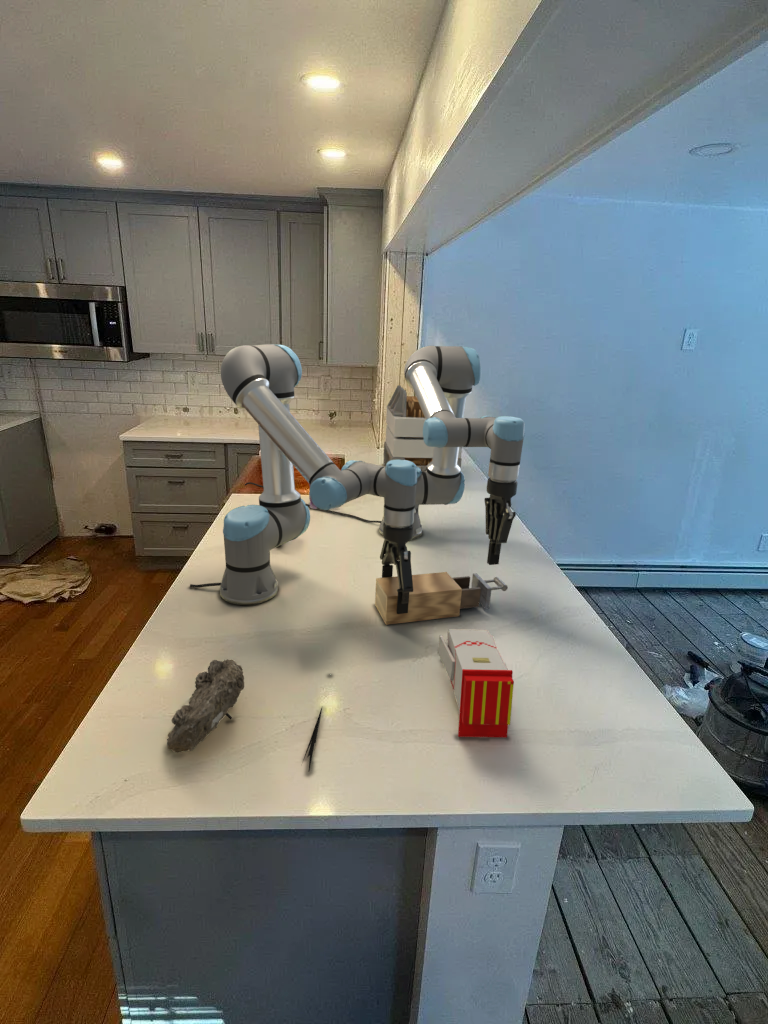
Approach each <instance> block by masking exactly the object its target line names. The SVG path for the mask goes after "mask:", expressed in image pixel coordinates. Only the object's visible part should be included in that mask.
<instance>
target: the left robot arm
mask: <svg viewBox="0 0 768 1024" xmlns="http://www.w3.org/2000/svg"><path fill="white" fill-rule="evenodd" d="M299 358H300V357H298V355H297V354H296V353H295V352H294V350H293V349H291V348H290V347H288V346H286V345H284V344H276V343H270V344H269V343H267V344H254V345H253V344H251V345H250V344H249V345H245V344H244V345H239V346H236V347H234V348H232V349H230V350H229V351H228V352H227V353H226V355H224V357H223V359H222V362H221V365H220V379H221V384H222V386H223V388H224V390H225V392H226V394H227V396H228V397H229V399H230V400H231V401H232V403H234V404H235V406H236V407H237V408H238V409H243V410H245V411H246V412H247V413H248V414H249V415H250V417H251V418H252V419H253V420H254V421H255V422H256V423H257V425H258V426H257V428H258V438H259V447H260V448H259V451H260V462H261V463H260V464H261V475H262V486H263V488H262V489H263V491H262V493H261V494H260V495H259V496H258V504H259V505H258V504H247V505H241V506H240V505H239V506H238V507H235V508H233V509H231V510H229V511H228V512H227V513H226V514H225V515H224V518H223V527H222V534H223V546H224V558H225V560H224V562H225V568H224V572H223V576H222V579H221V582H209V583H208V582H207V583H201V584H192V583H190V584H189V588H193V589H194V588H195V589H196V588H197V589H199V588H207V587H219V594H220V595H219V596H220V597H221V599H222V600H223V601H224V602H227V603H230V604H233V605H239V606H249V605H250V606H252V605H253V606H254V605H258V604H262V603H265V602H267V601H270V600H271V599H273V598H274V597H275V596H276V595H277V593H278V584H279V580H278V579H276V576H275V573H274V571H273V569H272V566H271V550H273V549H275V548H277V547H281V546H282V545H284V544H286V543H288V542H290V541H294V540H296V539H298V538H299V537H300V536H302V535H304V533H305V532H306V531H307V530H308V529H309V526H310V522H311V511H310V507H309V506H306V505H305V504H307V503H306V501H305V500H304V499H303V498H302V494H301V493H300V492H299V491H298V490H296V485H295V472H294V471H295V470H294V468H295V469H296V470H297V472H298V473H299V474H300V475H301V476H302V477H303V478H304V480H305V481H306V482H307V483H308V485H309V484H310V485H311V486H309V490H308V491H309V492H308V495H309V494H310V496H311V499H312V502H313V504H314V505H315V506H316V507H318V508H319V509H322V510H321V511H323V510H332V509H333V510H334V509H337V508H340V507H342V506H344V505H346V504H347V503H350V502H351V501H354V500H356V499H359V498H361V497H364V496H366V495H371V496H375V497H379V498H383V512H382V513H383V515H382V519H383V521H384V522H385V523H384V524H383V535H382V537H383V542H382V547H381V550H380V554H379V559H380V560H381V564H382V567H381V578H386V577H393V572H394V565H395V568H396V574H397V576H398V582H399V588H400V589H397V592H398V597H397V614H404V613H408V604H409V592H413V581H412V575H413V572H412V571H413V570H412V552H411V550H408V547H407V543H408V542H410V541H412V540H413V539H412V538H413V528H414V526H413V523H414V513H416V510H415V495H416V484H417V467H418V466H416V465H415V464H414V463H413V462H411V461H408V460H391V461H388V462H387V464H386V466H384V465H381V464H375V463H370V462H366V461H363V460H354V459H350V460H347V461H346V462H345V463H344V465H343V466H342V467H341V469H340V468H339V467H338V466H337V465H336V464H335V462H333V460H332V459H331V457H329V455H328V454H327V453H326V452H325V451H324V450H323V449H322V448H321V446H320V445H319V444H318V443H317V442H316V441H315V440H314V438H313V437H312V436H311V435H310V434H309V433H308V432H307V431H306V429H305V428H304V427H303V426H302V425H301V423H300V422H299V421H298V419H297V418H295V416H294V415H293V414H292V413H291V409H290V403H291V402H292V401H293V399H295V388H296V386H298V385H299V383H300V381H301V380H302V376H303V368H302V363H301V361H300V359H299ZM319 509H318V510H319ZM280 545H281V546H280ZM397 576H396V577H397Z"/></svg>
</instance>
